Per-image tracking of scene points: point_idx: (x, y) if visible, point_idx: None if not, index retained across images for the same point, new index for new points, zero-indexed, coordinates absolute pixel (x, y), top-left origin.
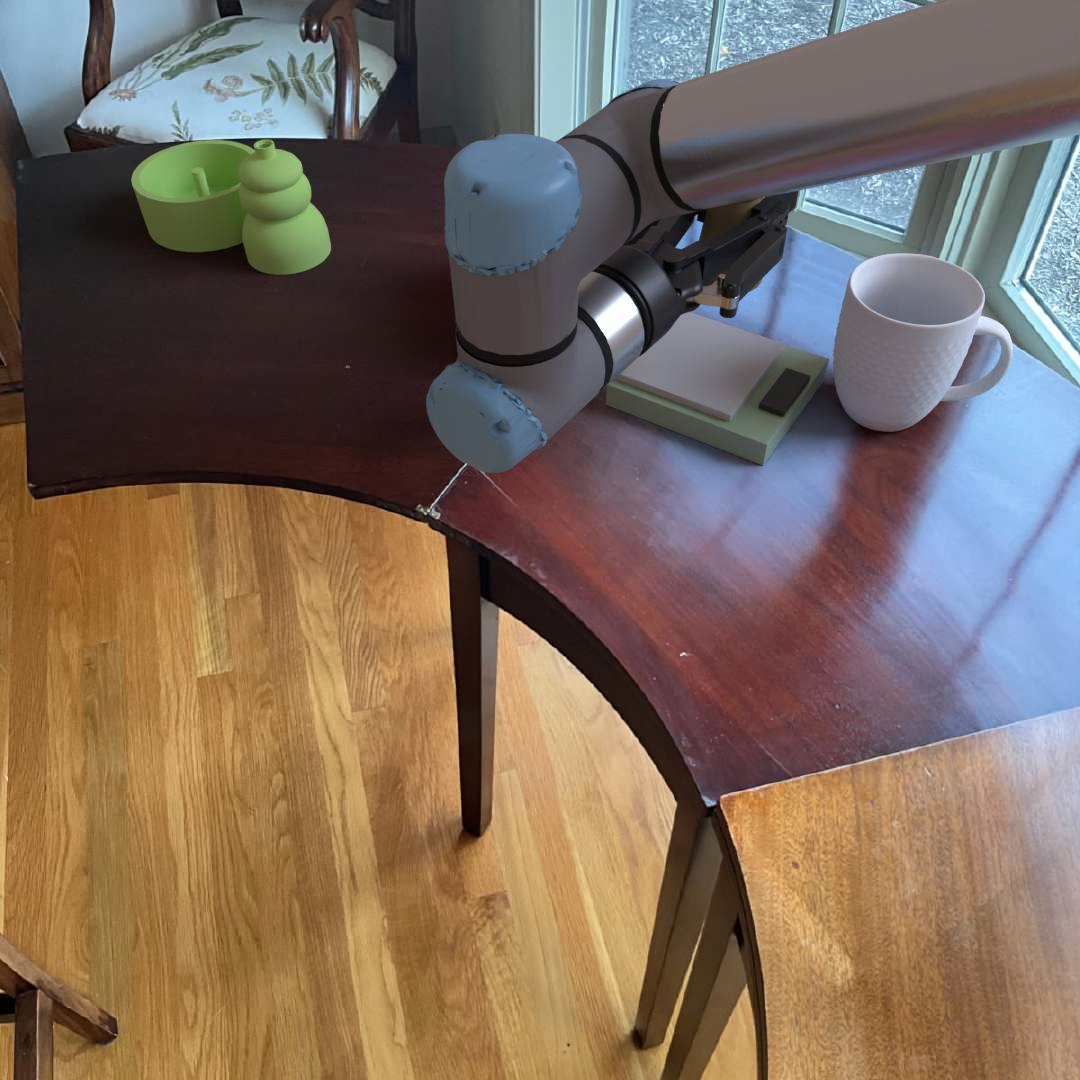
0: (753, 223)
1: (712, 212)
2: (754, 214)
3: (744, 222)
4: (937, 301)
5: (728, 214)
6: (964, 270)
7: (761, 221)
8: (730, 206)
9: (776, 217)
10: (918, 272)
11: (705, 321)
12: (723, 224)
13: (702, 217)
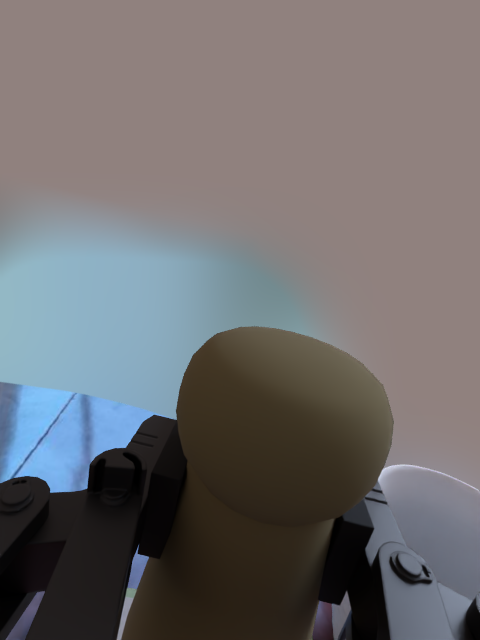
0: (422, 626)
1: (209, 556)
2: (346, 538)
3: (396, 636)
4: (420, 514)
5: (279, 567)
6: (457, 480)
7: (428, 596)
8: (287, 540)
9: (394, 529)
10: (402, 486)
11: (125, 609)
12: (258, 600)
13: (157, 545)
